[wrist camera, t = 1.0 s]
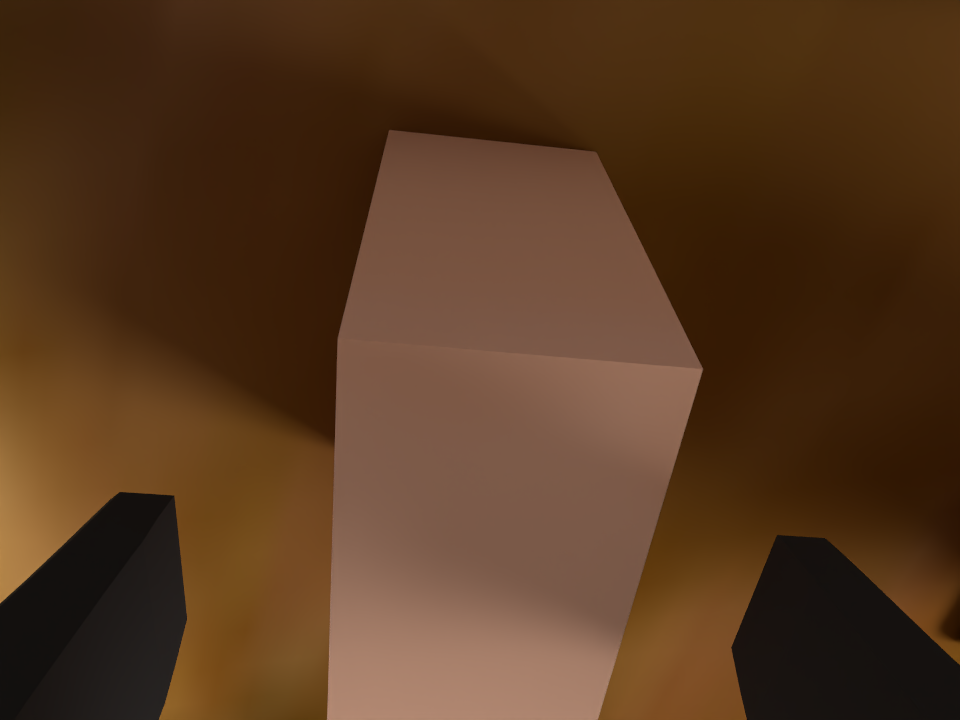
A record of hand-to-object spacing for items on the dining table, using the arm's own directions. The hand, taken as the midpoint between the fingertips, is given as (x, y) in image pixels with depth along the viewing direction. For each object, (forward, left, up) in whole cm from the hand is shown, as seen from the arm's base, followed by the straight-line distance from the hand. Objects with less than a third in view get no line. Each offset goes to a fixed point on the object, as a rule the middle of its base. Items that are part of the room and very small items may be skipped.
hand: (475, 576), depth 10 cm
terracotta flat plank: (0, 0, -7) cm, 7 cm away
